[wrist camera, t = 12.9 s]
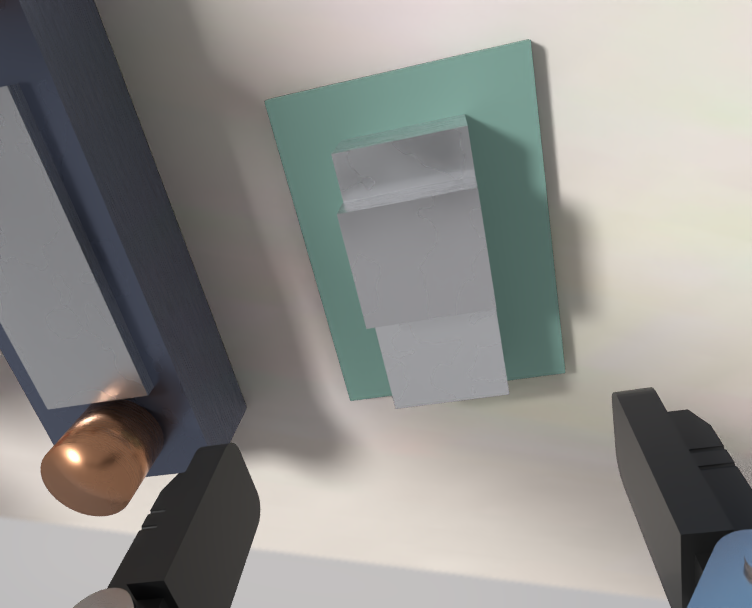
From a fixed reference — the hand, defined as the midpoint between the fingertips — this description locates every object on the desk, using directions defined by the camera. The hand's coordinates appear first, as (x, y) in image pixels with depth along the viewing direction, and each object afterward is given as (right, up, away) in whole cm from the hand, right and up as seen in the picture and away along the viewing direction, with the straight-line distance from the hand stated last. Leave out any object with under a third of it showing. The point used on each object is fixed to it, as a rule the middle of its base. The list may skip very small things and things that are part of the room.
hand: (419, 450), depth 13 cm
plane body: (-13, +7, +14) cm, 20 cm away
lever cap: (+1, +5, +12) cm, 13 cm away
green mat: (+1, +6, +13) cm, 14 cm away
